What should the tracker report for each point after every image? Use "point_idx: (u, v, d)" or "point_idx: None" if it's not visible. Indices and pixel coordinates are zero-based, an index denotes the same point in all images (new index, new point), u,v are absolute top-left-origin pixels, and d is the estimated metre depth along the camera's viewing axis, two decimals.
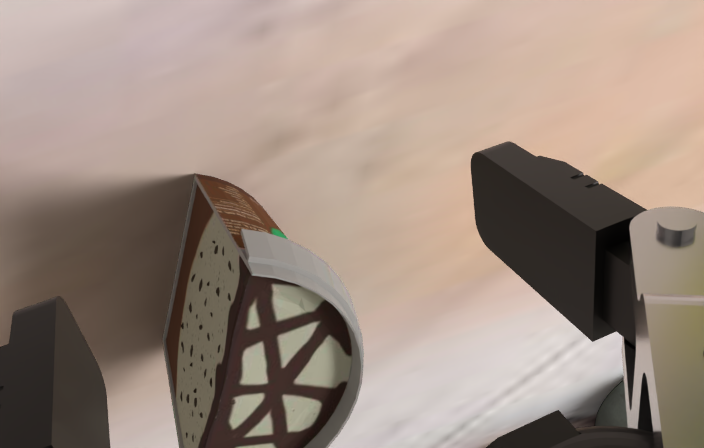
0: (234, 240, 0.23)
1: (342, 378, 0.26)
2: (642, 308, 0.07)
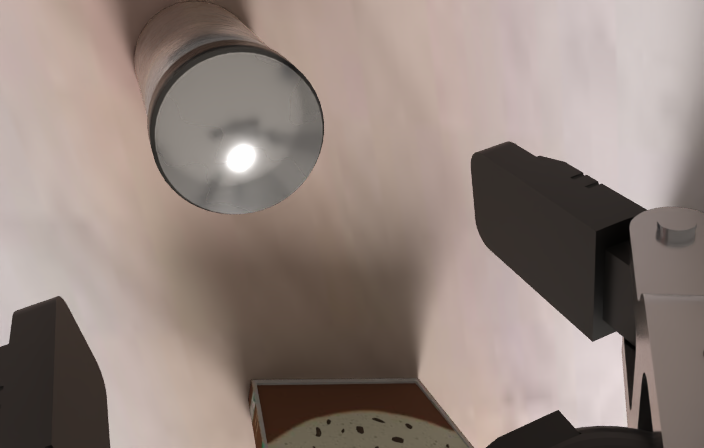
0: None
1: None
2: (642, 308, 0.07)
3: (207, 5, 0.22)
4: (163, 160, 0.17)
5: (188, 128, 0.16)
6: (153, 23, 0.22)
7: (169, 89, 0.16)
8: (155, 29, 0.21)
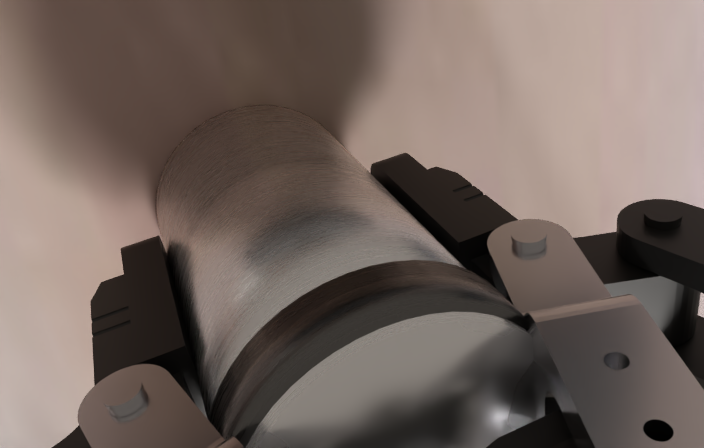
0: None
1: None
2: (531, 327, 0.08)
3: (281, 116, 0.13)
4: None
5: None
6: (190, 152, 0.13)
7: (269, 412, 0.07)
8: (197, 172, 0.12)
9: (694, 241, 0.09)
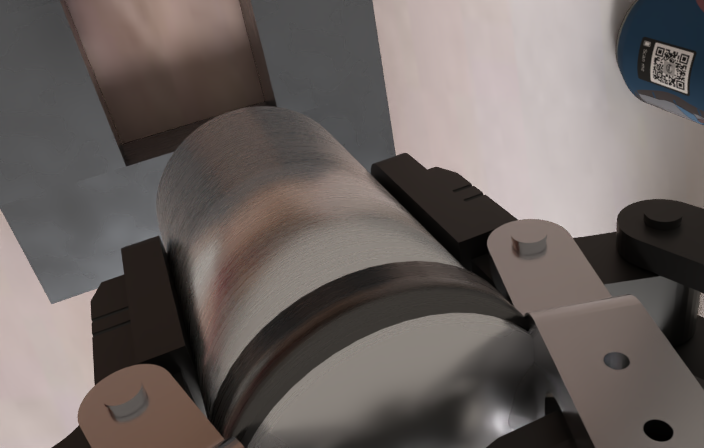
0: None
1: None
2: (531, 327, 0.08)
3: (281, 117, 0.13)
4: None
5: None
6: (191, 153, 0.13)
7: (269, 413, 0.07)
8: (197, 172, 0.12)
9: (694, 241, 0.09)
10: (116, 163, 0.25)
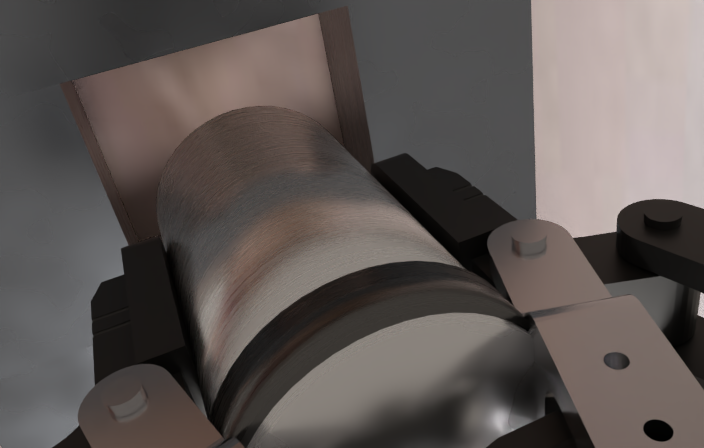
0: None
1: None
2: (531, 327, 0.08)
3: (281, 117, 0.13)
4: None
5: None
6: (191, 153, 0.13)
7: (269, 413, 0.07)
8: (197, 172, 0.12)
9: (694, 241, 0.09)
10: None
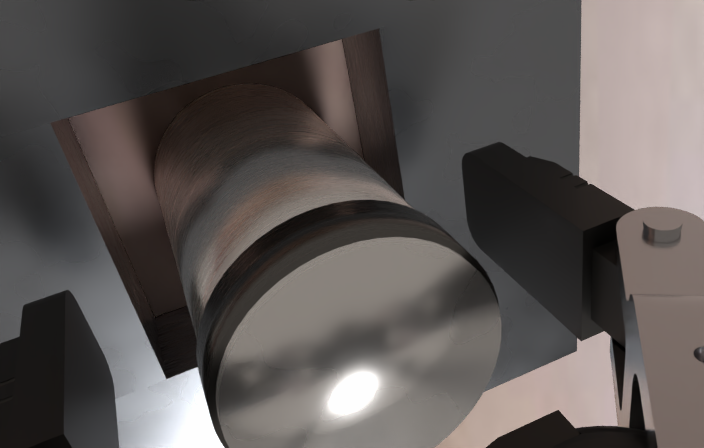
0: None
1: None
2: (631, 308, 0.08)
3: (265, 92, 0.14)
4: (231, 434, 0.09)
5: (278, 377, 0.09)
6: (184, 124, 0.14)
7: (245, 316, 0.08)
8: (190, 139, 0.13)
9: None
10: (150, 376, 0.15)
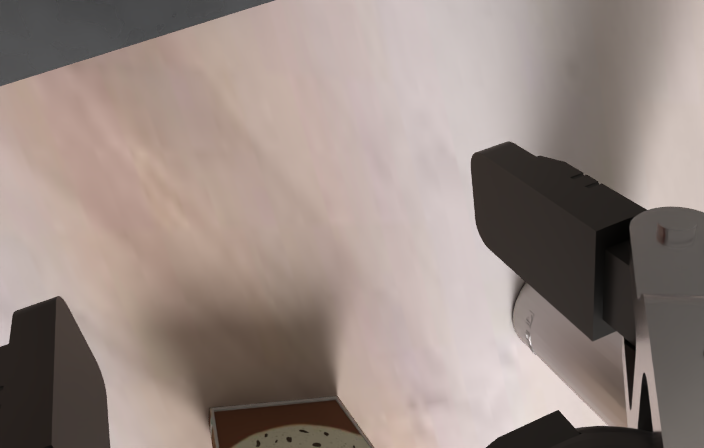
0: None
1: None
2: (642, 308, 0.07)
3: None
4: None
5: None
6: None
7: None
8: None
9: None
10: None
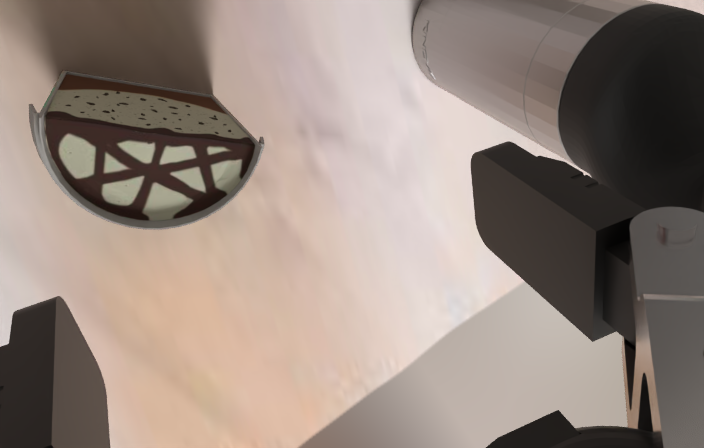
0: None
1: (151, 216, 0.36)
2: (642, 308, 0.07)
3: None
4: None
5: None
6: None
7: None
8: None
9: None
10: None
